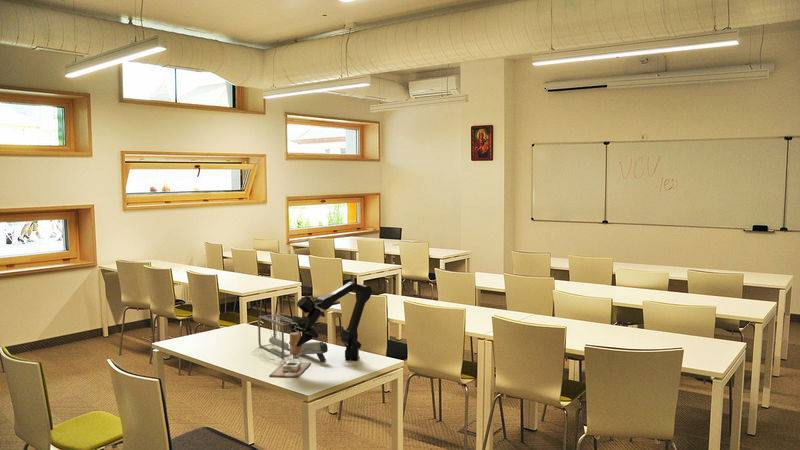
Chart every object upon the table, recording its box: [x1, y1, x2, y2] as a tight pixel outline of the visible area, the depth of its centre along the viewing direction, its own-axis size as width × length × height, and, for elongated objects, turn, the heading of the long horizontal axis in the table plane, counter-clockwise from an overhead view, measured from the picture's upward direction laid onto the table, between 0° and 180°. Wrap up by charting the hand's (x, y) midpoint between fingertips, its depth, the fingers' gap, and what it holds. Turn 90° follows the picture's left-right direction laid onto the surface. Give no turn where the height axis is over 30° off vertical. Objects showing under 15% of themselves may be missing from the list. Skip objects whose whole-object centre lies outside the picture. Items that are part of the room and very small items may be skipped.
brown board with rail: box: [268, 361, 312, 379], centre depth 295 cm, size 14×22×3 cm, turn 172°
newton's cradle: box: [257, 313, 300, 358], centre depth 330 cm, size 30×10×18 cm, turn 37°
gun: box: [300, 340, 329, 363], centre depth 316 cm, size 2×25×10 cm, turn 44°
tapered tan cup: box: [289, 332, 302, 360], centre depth 291 cm, size 6×6×12 cm
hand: (293, 345), depth 290 cm, fingers closed on tapered tan cup, 6 cm apart
